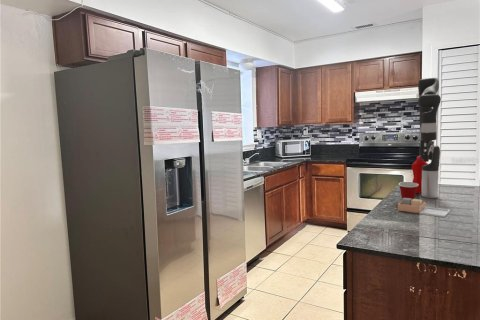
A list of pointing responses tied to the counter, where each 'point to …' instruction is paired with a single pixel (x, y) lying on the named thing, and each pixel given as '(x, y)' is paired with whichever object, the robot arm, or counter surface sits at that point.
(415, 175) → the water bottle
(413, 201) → the beige wooden cube
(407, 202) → the grey stacked cube
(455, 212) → the counter surface
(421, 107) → the robot arm
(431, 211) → the tray
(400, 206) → the dish
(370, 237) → the counter surface
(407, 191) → the plastic cup
